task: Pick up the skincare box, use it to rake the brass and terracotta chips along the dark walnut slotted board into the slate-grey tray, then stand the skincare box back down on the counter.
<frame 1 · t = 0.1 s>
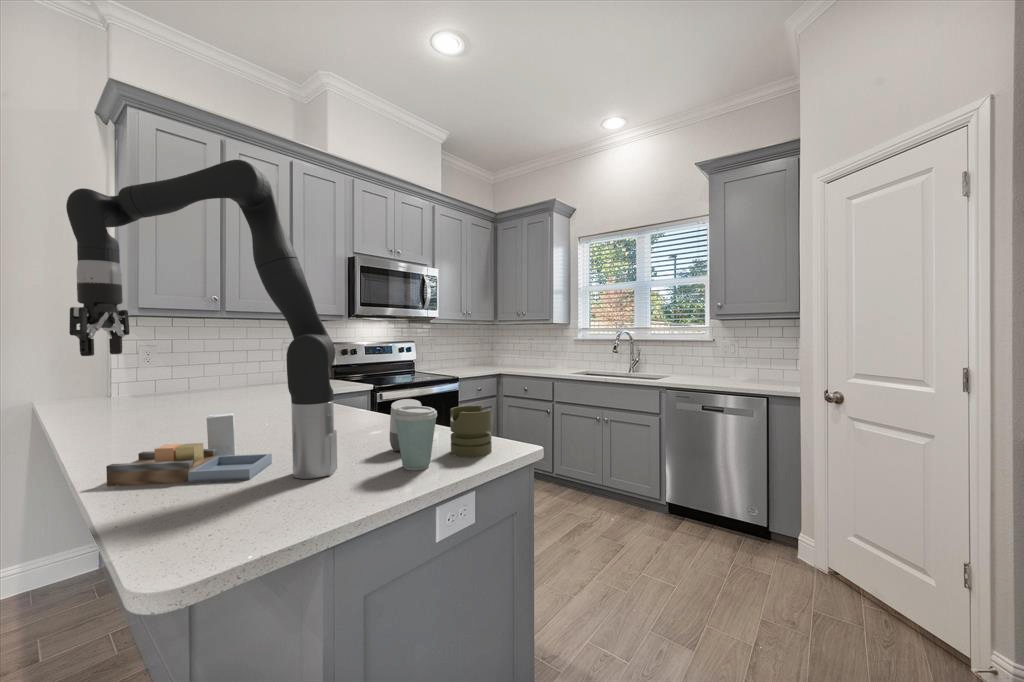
hand: (102, 354, 102), 29 cm above the counter, fingers open, 8 cm apart
disposable coffee cup: (416, 467, 113), on the counter
chip tray: (232, 472, 110), on the counter
slotted board: (165, 475, 108), on the counter
terracotta chip: (169, 462, 108), point 3 cm above the counter, touching slotted board
piston: (471, 452, 127), on the counter
skincare box: (222, 460, 121), on the counter
smart speaker: (407, 450, 129), on the counter
brass chip: (190, 462, 109), point 3 cm above the counter, touching slotted board
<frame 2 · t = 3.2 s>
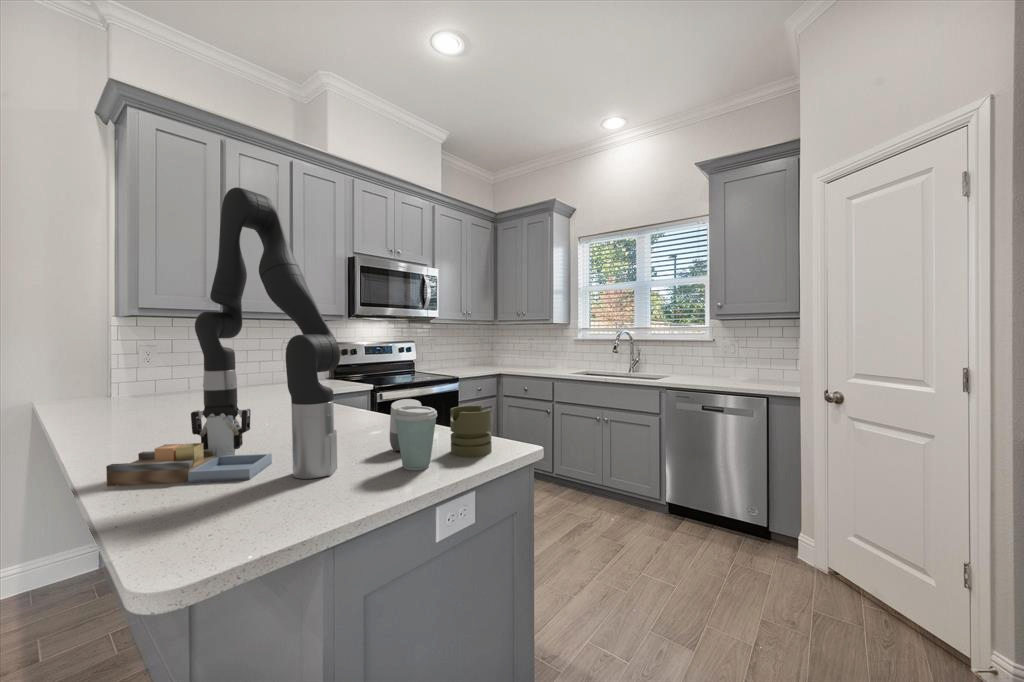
hand: (222, 449, 121), 3 cm above the counter, fingers closed on skincare box, 7 cm apart
skincare box: (222, 460, 121), on the counter, touching gripper
everything else where it was.
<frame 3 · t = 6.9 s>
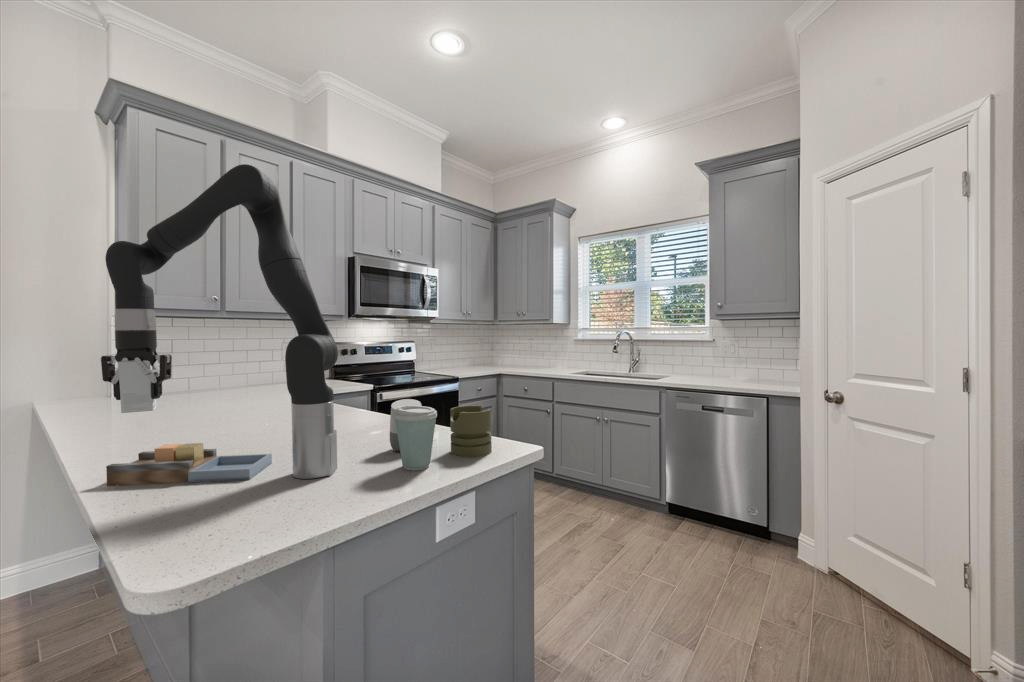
hand: (138, 398, 107), 18 cm above the counter, fingers closed on skincare box, 7 cm apart
skincare box: (138, 412, 107), point 15 cm above the counter, touching gripper
everything else where it was.
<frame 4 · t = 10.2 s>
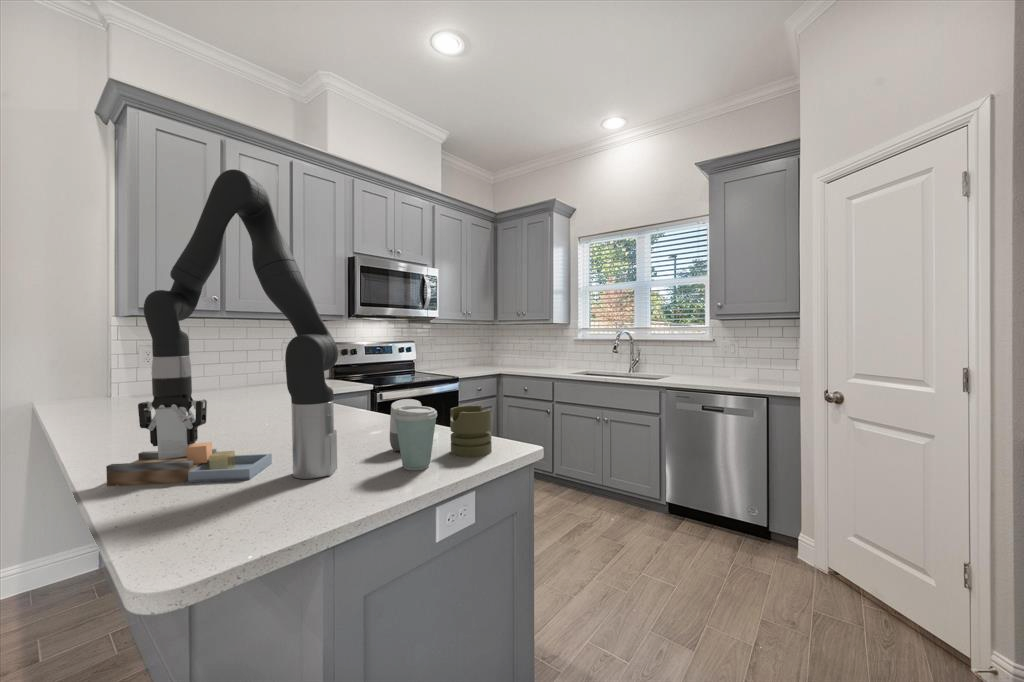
hand: (174, 444, 108), 7 cm above the counter, fingers closed on skincare box, 7 cm apart
terracotta chip: (200, 461, 109), point 3 cm above the counter, touching slotted board
skincare box: (174, 457, 108), point 4 cm above the counter, touching gripper
brass chip: (213, 462, 110), point 3 cm above the counter, tilted 90°, touching chip tray
everything else where it was.
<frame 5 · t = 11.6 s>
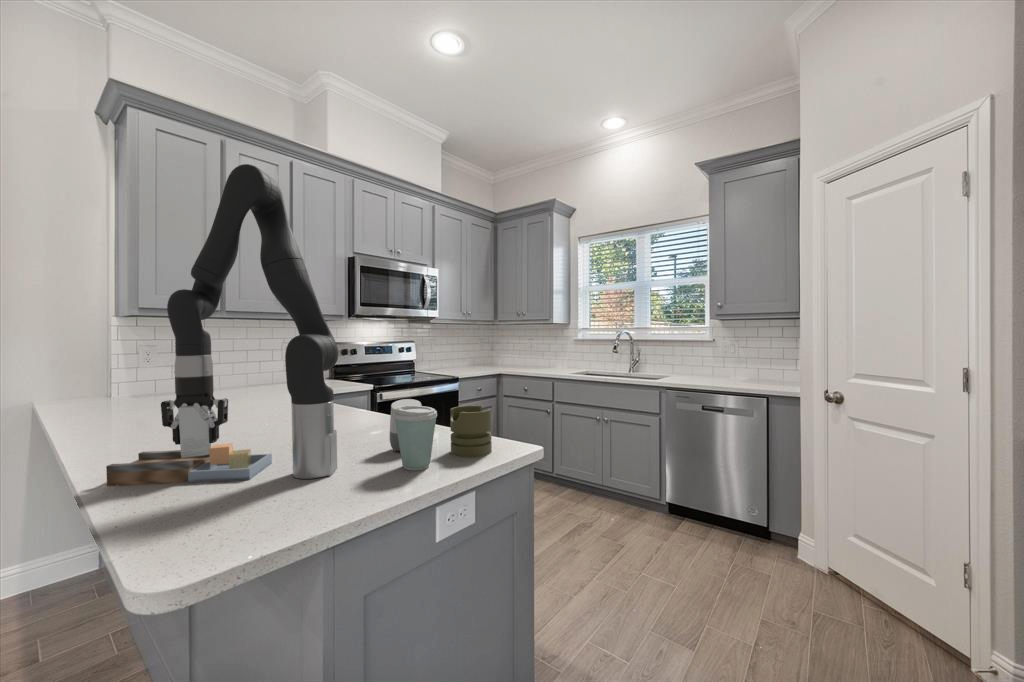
hand: (196, 442, 109), 8 cm above the counter, fingers closed on skincare box, 7 cm apart
terracotta chip: (221, 462, 110), point 2 cm above the counter, touching brass chip, skincare box
skincare box: (196, 456, 109), point 4 cm above the counter, touching gripper, terracotta chip
brass chip: (230, 460, 111), point 3 cm above the counter, tilted 90°, touching chip tray, terracotta chip
everything else where it was.
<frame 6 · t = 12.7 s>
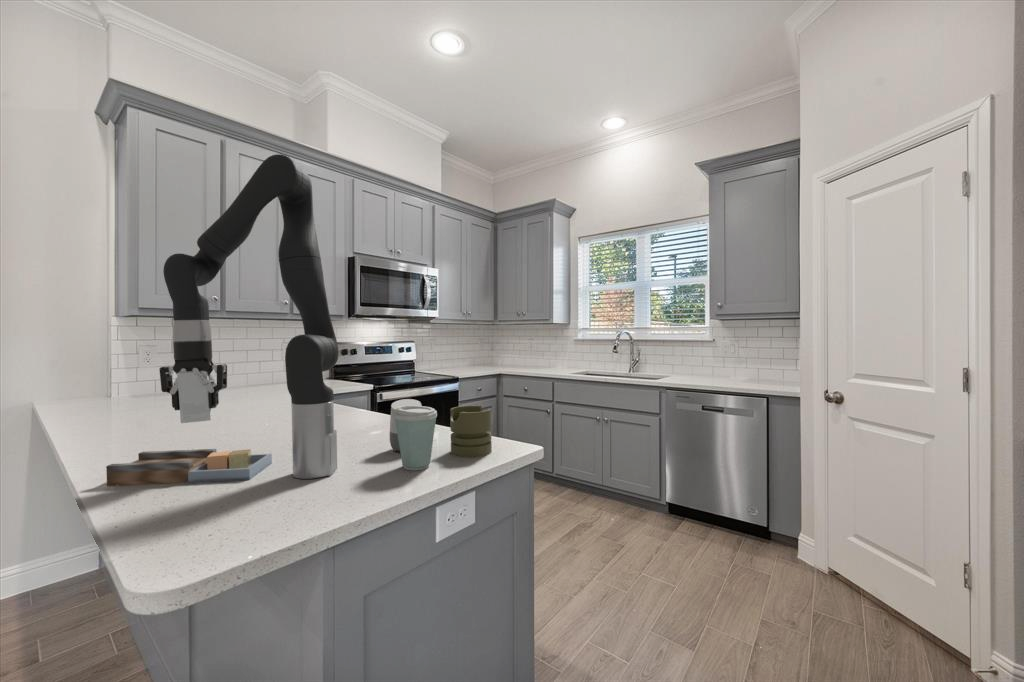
hand: (195, 408, 109), 16 cm above the counter, fingers closed on skincare box, 7 cm apart
terracotta chip: (219, 470, 110), point 1 cm above the counter, touching chip tray
skincare box: (196, 421, 109), point 13 cm above the counter, touching gripper
brass chip: (230, 461, 111), point 3 cm above the counter, tilted 90°, touching chip tray
everything else where it was.
when the fingers open (4 cm above the counter, at t = 18.5 s): skincare box drops 1 cm, on the counter.
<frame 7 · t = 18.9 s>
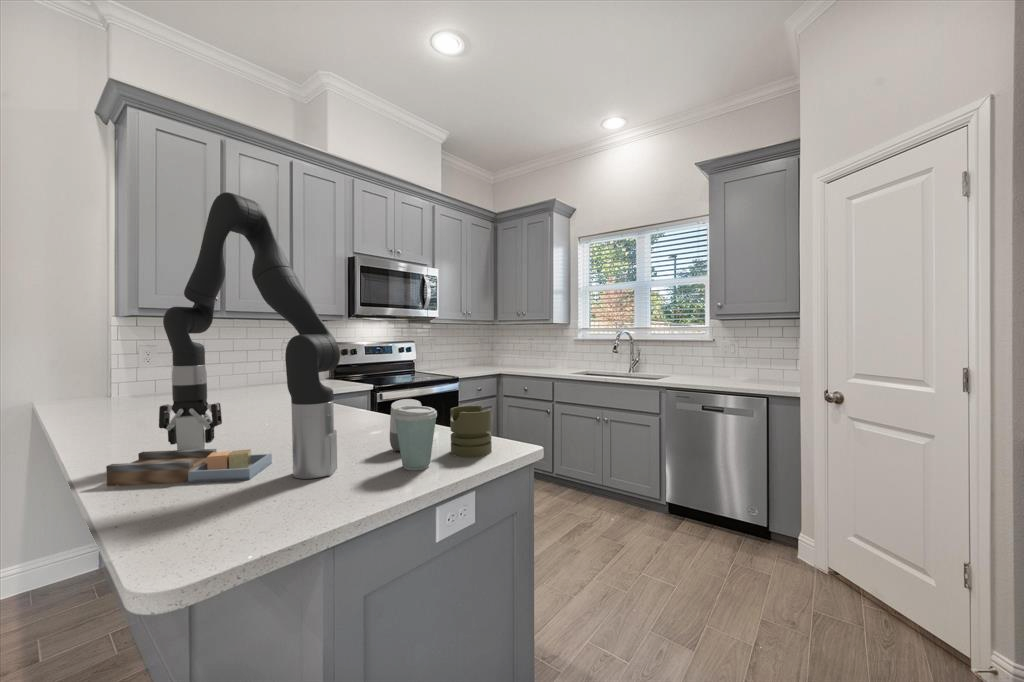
hand: (191, 443, 121), 5 cm above the counter, fingers open, 8 cm apart
skincare box: (192, 461, 121), on the counter
everything else where it was.
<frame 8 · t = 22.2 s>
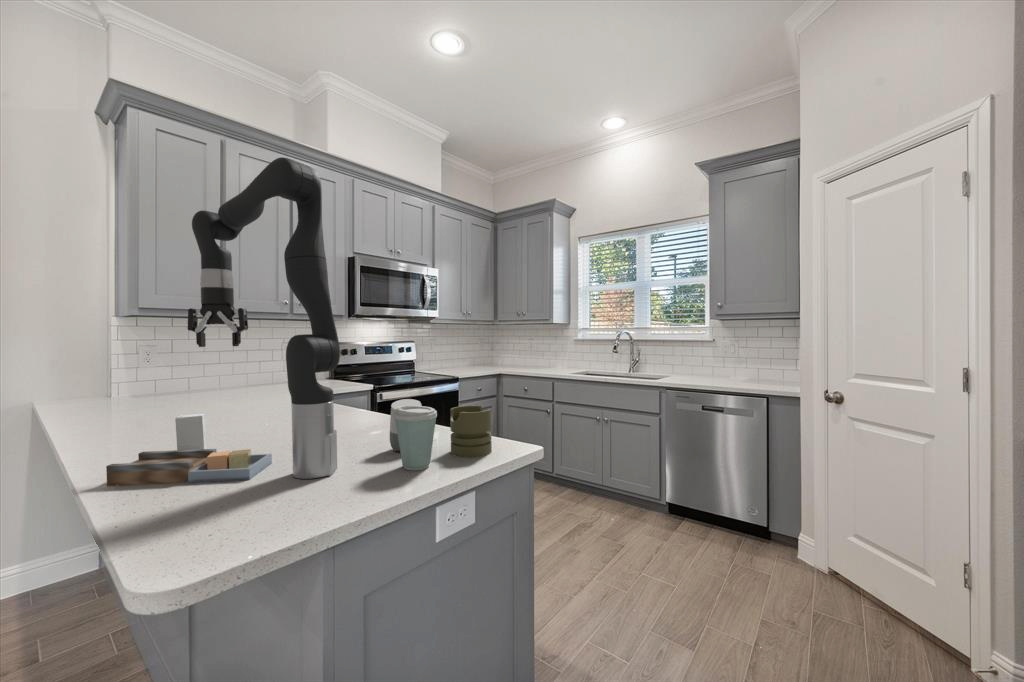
hand: (218, 346, 124), 30 cm above the counter, fingers open, 8 cm apart
nothing on the counter moved.
at the end: brass chip inside the target area on the chip tray (1.0 cm from its centre), point 2.6 cm above the chip tray's base; terracotta chip inside the target area on the chip tray (3.1 cm from its centre), point 0.6 cm above the chip tray's base; skincare box inside the target area (0.1 cm from its centre), on the counter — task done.
